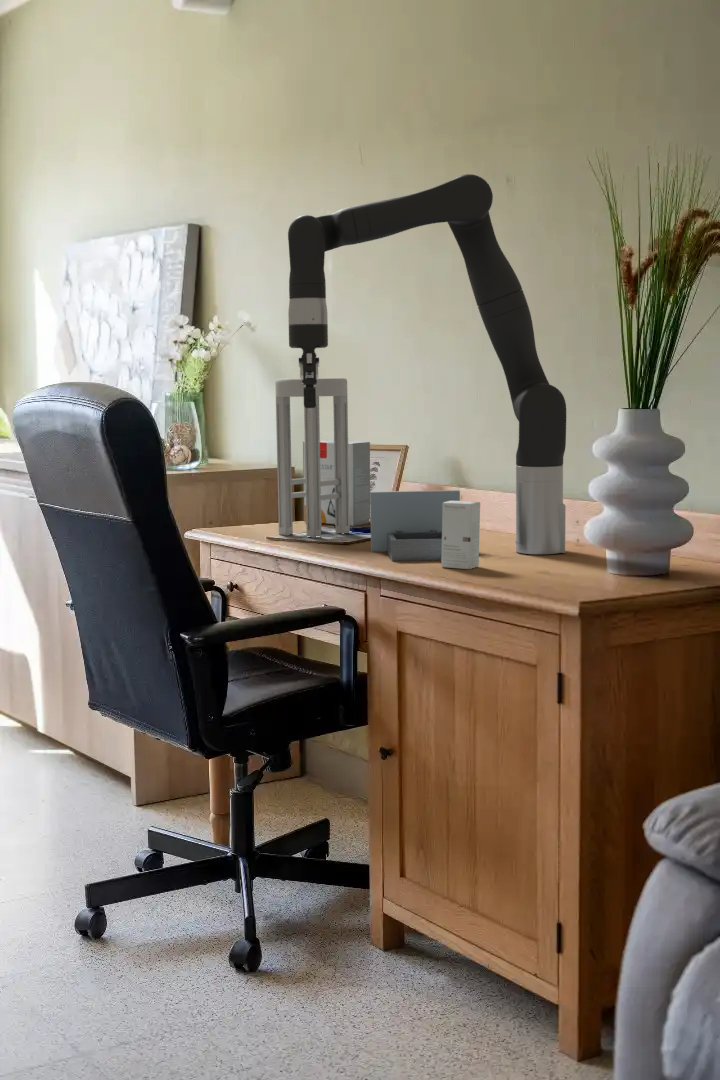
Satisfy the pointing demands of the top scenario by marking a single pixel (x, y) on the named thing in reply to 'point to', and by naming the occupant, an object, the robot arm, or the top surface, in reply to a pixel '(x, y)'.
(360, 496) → the hard drive box
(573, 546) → the top surface
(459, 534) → the skincare box
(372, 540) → the backboard
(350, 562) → the top surface
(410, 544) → the grey open tray
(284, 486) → the stool
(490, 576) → the top surface
